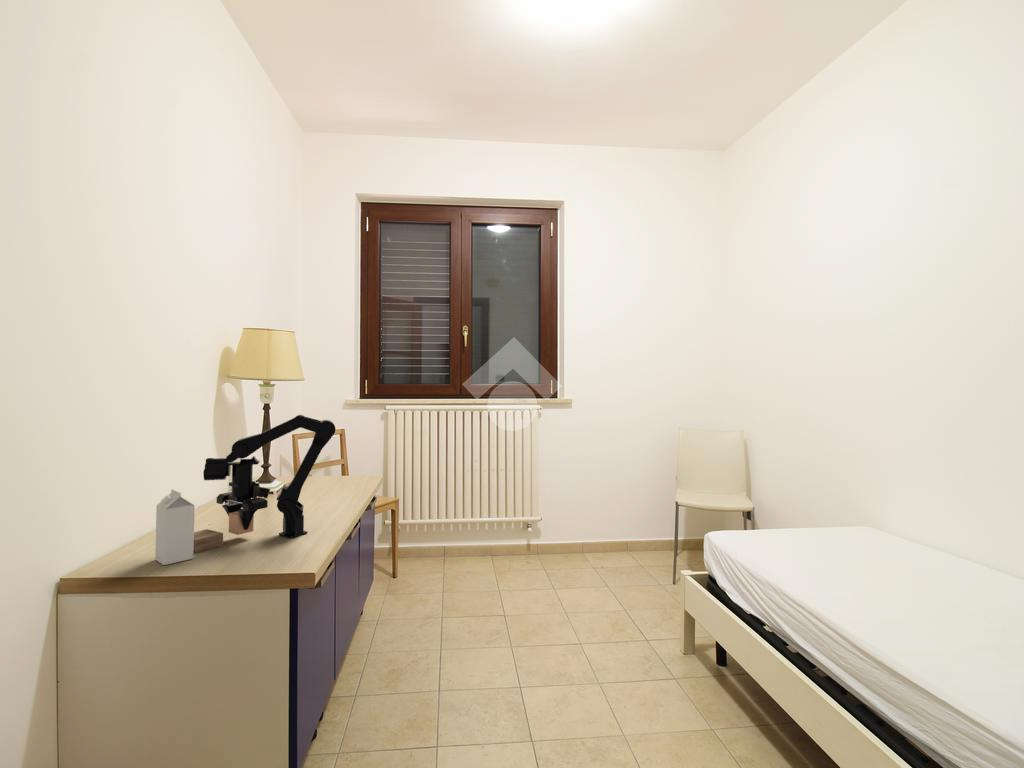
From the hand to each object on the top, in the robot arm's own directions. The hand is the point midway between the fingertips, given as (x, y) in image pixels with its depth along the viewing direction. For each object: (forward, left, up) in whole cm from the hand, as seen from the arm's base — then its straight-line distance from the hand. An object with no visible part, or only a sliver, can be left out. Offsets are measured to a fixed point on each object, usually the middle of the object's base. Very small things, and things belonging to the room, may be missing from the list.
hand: (241, 528), depth 158 cm
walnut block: (+2, +11, -4) cm, 12 cm away
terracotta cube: (0, 0, -1) cm, 1 cm away
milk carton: (-3, +21, -4) cm, 21 cm away
